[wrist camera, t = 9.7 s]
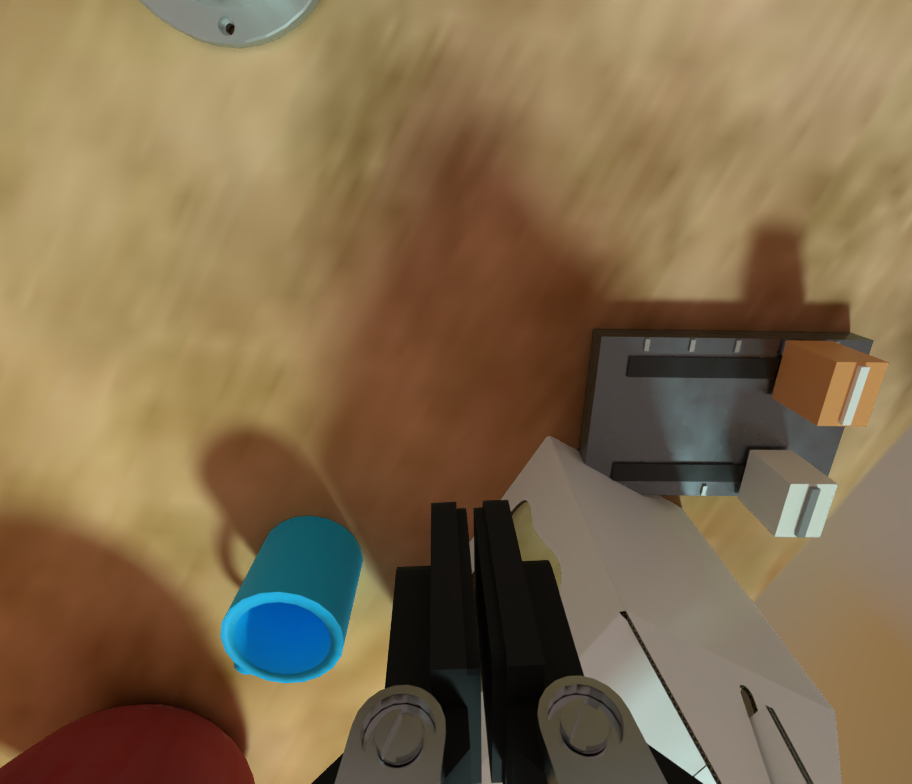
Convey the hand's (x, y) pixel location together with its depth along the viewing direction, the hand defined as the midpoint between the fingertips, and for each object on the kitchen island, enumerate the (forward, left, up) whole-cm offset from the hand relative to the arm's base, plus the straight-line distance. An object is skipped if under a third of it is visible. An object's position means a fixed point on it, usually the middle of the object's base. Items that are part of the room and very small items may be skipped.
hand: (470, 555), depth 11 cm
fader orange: (+3, +23, -22) cm, 32 cm away
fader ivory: (+11, +23, -22) cm, 33 cm away
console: (+7, +19, -25) cm, 32 cm away
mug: (+22, -12, -25) cm, 35 cm away
